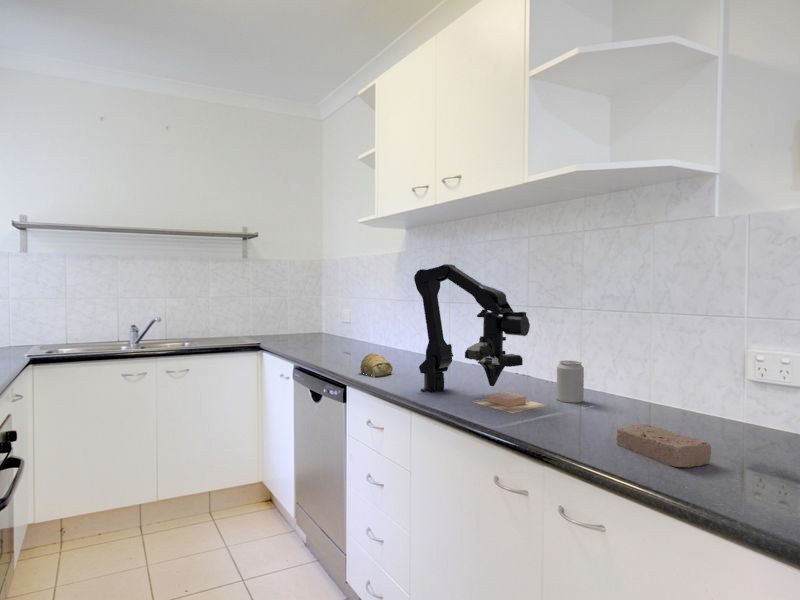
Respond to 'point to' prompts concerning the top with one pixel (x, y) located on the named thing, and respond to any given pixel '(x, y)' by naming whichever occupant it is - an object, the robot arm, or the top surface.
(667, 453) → the brick
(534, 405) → the board
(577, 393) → the can
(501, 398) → the tile
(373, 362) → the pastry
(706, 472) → the top surface
